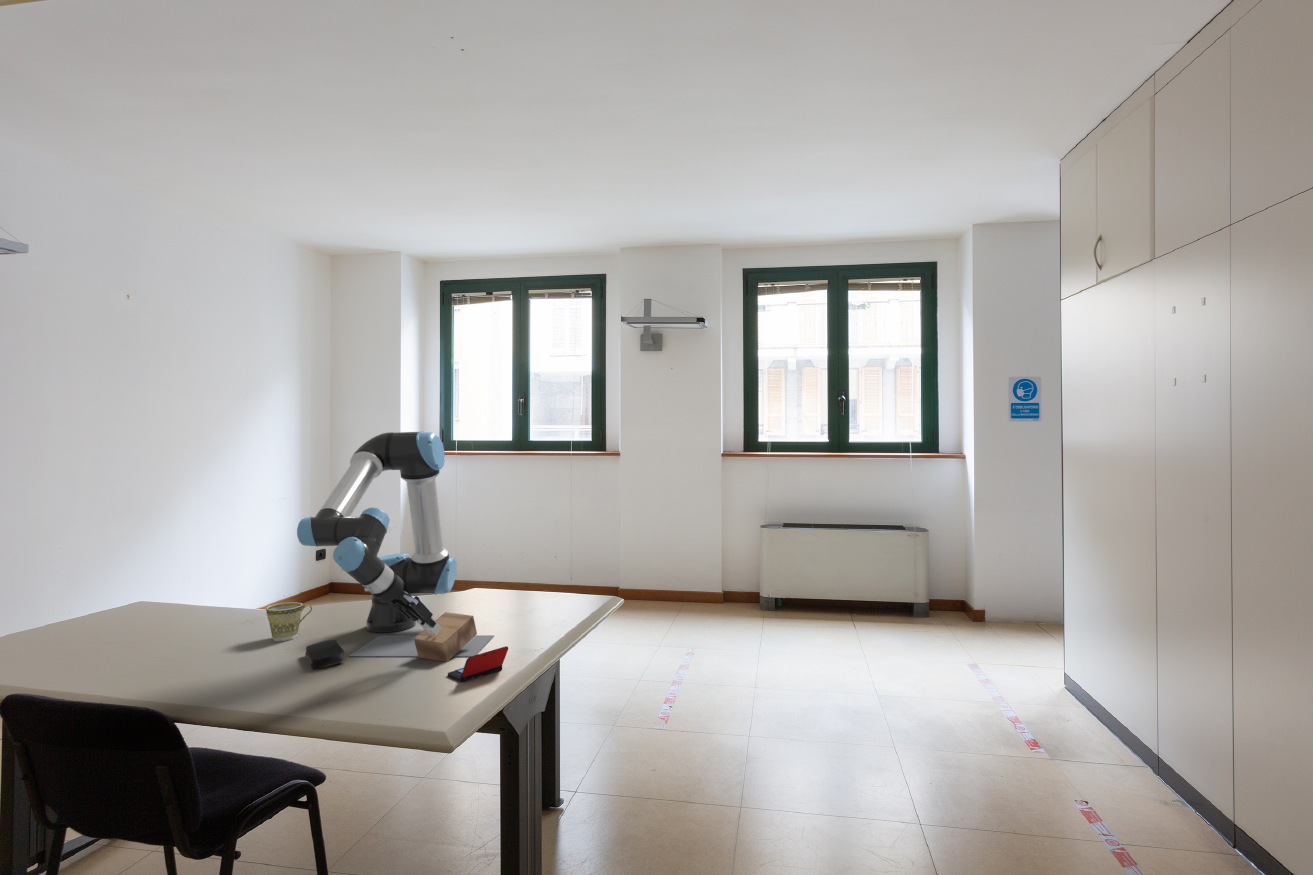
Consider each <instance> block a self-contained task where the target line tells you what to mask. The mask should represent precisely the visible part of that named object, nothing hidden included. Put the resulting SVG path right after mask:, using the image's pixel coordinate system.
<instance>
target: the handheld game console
mask: <svg viewBox="0 0 1313 875" xmlns="http://www.w3.org/2000/svg"><path fill="white" fill-rule="evenodd" d="M508 651H509V647H508V646H502V647H499V648H495V649H493V650H490V651H485V652H482V653H481V652H480V653H478V654H477V655H474V656H471V657H467V658H466V660H465V662H464V666H463V667H460V668H459V669H458V668H457V669H455V670H453V671H449V672H447V677H448V678H449V679H453V680H455V681H457V682H459V683H465V682H469V681H472V680H475V679H478V678H479V677H483V676H488V675H491V674H495V673H498V672H500V671H502V670H503V664H504V661H505V659H506V657H507V653H508Z"/></svg>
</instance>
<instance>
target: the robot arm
mask: <svg viewBox="0 0 1313 875" xmlns="http://www.w3.org/2000/svg"><path fill="white" fill-rule="evenodd" d="M443 444H444V443H443V442H442V439H441V438H440V437H439V436H438V434H436V433H434V432H432V431H431V432H430V431H423V430H422V431H407V432H406V431H405V432H404V431H402V432H400V431H399V432H393V431H392V432H389V431H388V432H385V433H381V434H378V435H375V436H373V437H371V438H370V439H369V440H367V441H366V442H365V443H363V444H361V446H359V448H357V450H356V451H355V452H353V454H352V456H351V457H350V460H349V467H348V468H347V469H346V471H345V473H344V474H343V475H342V477H341V478H340V480H339V482H338V483H337V485H336V486H335V487H334V489H333V491H332V492H331V493H330V495H329V496H328V497H327V499H326V501H325V502H324V504H323V505H322V507H321V508H320V509H319V511H318V512H317V513H316V515H315V516H314V517H313V516H309V517H304V518H302V519H301V520H299V522H298V525H297V528H296V536H297V539H298V541H299V544H301V545H303V546H307V547H308V546H309V547H317V548H318V547H335V548H334V551H333V553H332V559H333V560H334V562H335V564H337V565H338V566H339V567H340V569H341V570H342V571H343V572H346V574H348V575H349V576H350V577H352V578H353V579H354V580H355V581H356V582H357V583H358V584H360V585H361V586H362V587H364V592H369V593H370V594H371V606H370V609H369V611H368V612H369V613H368V616H367V619H366V624H365V625H366V628H365V629H366V630H367V631H368V632H372V633H394V632H399V631H405V630H408V629H411V628H412V627H415V626H416V624H418V625H419V626H420V627H421V628H422V629H424V630H426V631H427V632H428V633H429V634H431V635H433V634H434V635H435V636H437V635H438V634H439V632H440V631H441V629H442V627H441V626H440V625H439V624H438V623H437V622H436V621H435V620H436V619H434V618H433V615H434V614H433V613H432V612H431V610H430V609H428V607H427V606H426V605H425V604H424V603H423V602H422V601H421V599H420V597H419V596H417V595H435V596H436V595H443V594H448V593H449V592H451V590H452V589H453V586H454V584H455V580H456V575H457V560H456V559H455V557H452V556H451V557H450V555H449V550H448V549H447V548H445V547H444V545H443V536H442V535H443V534H442V526H441V517H440V509H439V508H440V507H439V500H438V492H437V482H436V478H437V477H438V476H439V475H440V470H441V469H443V467H444V465H445V462H446V461H445V456H446V455H445V448H444V445H443ZM386 471H399V474H400V478H401V479H402V480H403V481H405V482H406V490H407V495H408V497H407V498H408V503H409V511H410V512H409V513H410V519H411V520H410V521H411V528H412V529H411V530H412V535H413V536H412V537H413V543H414V552H413V553H412V554H411V555H410V554H409V553H408V552H398V553H392V554H387V555H384V556H383V555H382V556H380V557H378V554H379V552H380V548H381V547H382V545H383V544H382V543H383V541H384V539H385V536H386V535H387V533H388V528H389V525H390V517H389V515H388V513H387V512H386V511H384V510H383V509H381V508H378V507H368V508H366V509H363V511H362V512H361V514H360V515H359V516H352V514H353V512H354V510H355V509H356V508H357V506H358V504H359V503H360V501H361V499H362V498H363V497H364V495H365V493H366V492H367V490H368V488H369V487H370V485H371V483H372V482H373V480H374V479H375V478H378V477H380V476H381V475H382V473H383V472H386ZM412 595H414V597H413V596H412ZM415 595H416V596H415Z"/></svg>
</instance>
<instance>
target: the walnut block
mask: <svg viewBox="0 0 1313 875" xmlns="http://www.w3.org/2000/svg"><path fill="white" fill-rule="evenodd" d="M434 620H435V621H436V622H437V623H438V624H439V625H440V626H441V627H442V629H441V631H440V632H439V634H438V635H437V636H435V635H434V634H433V635H431V634H429V633H428V632H427V631H426V630H425V629H424V630H423V631H421V632H419V633H418V634H417V635H418V636H416V637H415V638H414V642H415V646H416V650H417V654H418V657H417V658H422V659H426V660H432V661H433V660H434V661H438V662H439V661H440V662H446V663H448V662H449V661H450V660H451V659H452V658H454V657H453V656H454V655H455V654H456V653H457V652H458V651H459V650H460V649H461V648H462V647H464V646H465V645H466V644H467V643H468V642H469V641H470V640H471V639H472V638H473V637H474V636H475V635H478V633H477V628H476V624H475V619H474V615H470V614H464V613H463V614H462V613H454V612H448V611H447V612H446V611H445V612H443V613H442V614H441V615H440V616H439V617H438V618H436V619H434Z"/></svg>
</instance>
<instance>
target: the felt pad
mask: <svg viewBox="0 0 1313 875" xmlns="http://www.w3.org/2000/svg"><path fill="white" fill-rule="evenodd" d="M418 635H419V634H416V635H413V634H412V635H411V634H409V635H408V634H407V635H401V634H399V635H398V634H397V635H396V634H395V635H393V634H392V635H389V634H388V635H387V634H386V635H385V634H383V635H381V634H380V635H378V636H377V637H375V638H373V639H372V640H371V641H369V642H367V643H366V644H365V645H363V646H362V647H360V648H358V649H356V651H354V652H353V653H352V654H350V655H349V656H348V657H349V658H419V657H418V654H417V650H416V646H415V642H414V638H415V637H416V636H418ZM494 637H495V635H494V634H493V635H492V634H491V635H487V634H485V635H483V634H482V635H481V634H480V635H478V634H476V635H475V636H474V637H473V638H472V639H471V640H470V641H469V642H468V643H467V644H466V645H465V646H464V647H462V648H461V649H460V650H459V651H458V652H457V653H456V654H455V655H454V656H453V657H452V658H469V657H471V656H474V655H478V654H480V653H481V651H482V650H483V649H484V648H485V647H486V646H487V645H488V644H489V643H490V641H491V640H492V639H494Z"/></svg>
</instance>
